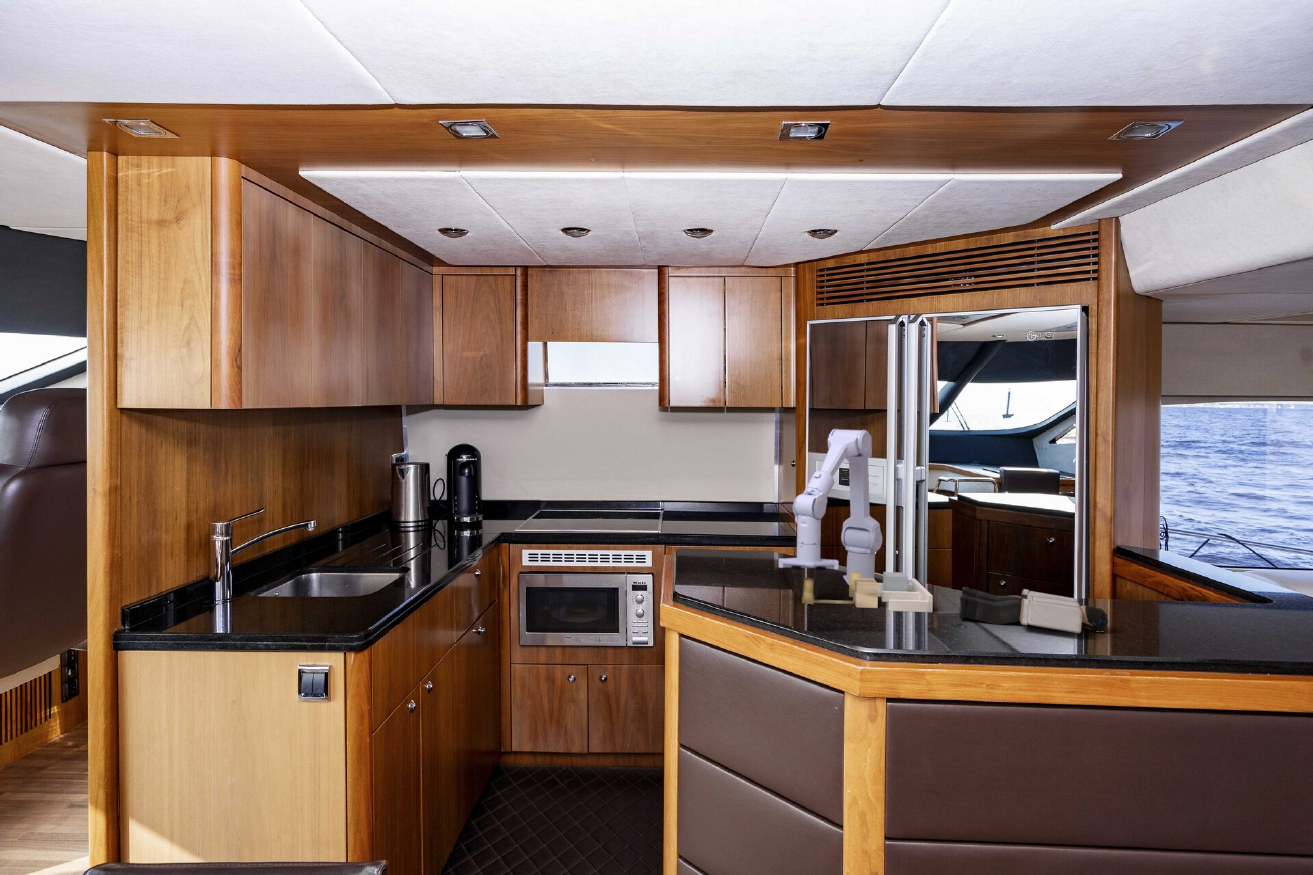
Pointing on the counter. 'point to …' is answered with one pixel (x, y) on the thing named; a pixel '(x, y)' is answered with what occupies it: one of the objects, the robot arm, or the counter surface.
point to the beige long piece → (862, 594)
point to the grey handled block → (884, 582)
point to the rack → (908, 598)
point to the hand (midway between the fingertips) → (807, 596)
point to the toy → (1031, 610)
